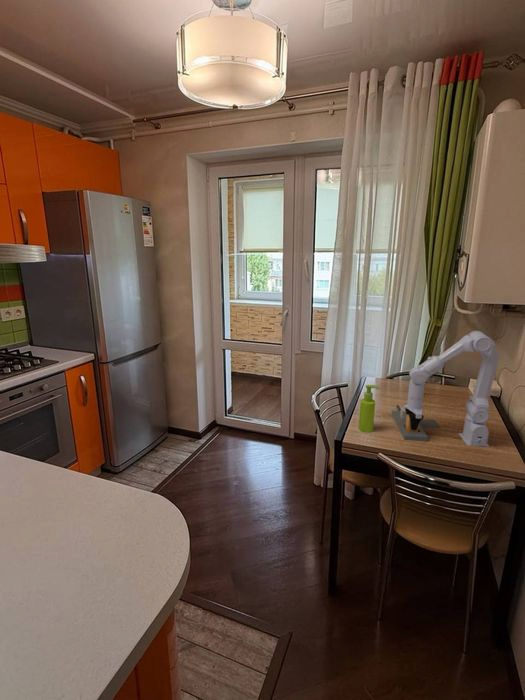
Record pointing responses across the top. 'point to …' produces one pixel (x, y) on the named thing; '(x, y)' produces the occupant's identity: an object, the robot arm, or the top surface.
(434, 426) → the mat
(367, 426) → the soap dispenser
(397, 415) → the grey panel with knob
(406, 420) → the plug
